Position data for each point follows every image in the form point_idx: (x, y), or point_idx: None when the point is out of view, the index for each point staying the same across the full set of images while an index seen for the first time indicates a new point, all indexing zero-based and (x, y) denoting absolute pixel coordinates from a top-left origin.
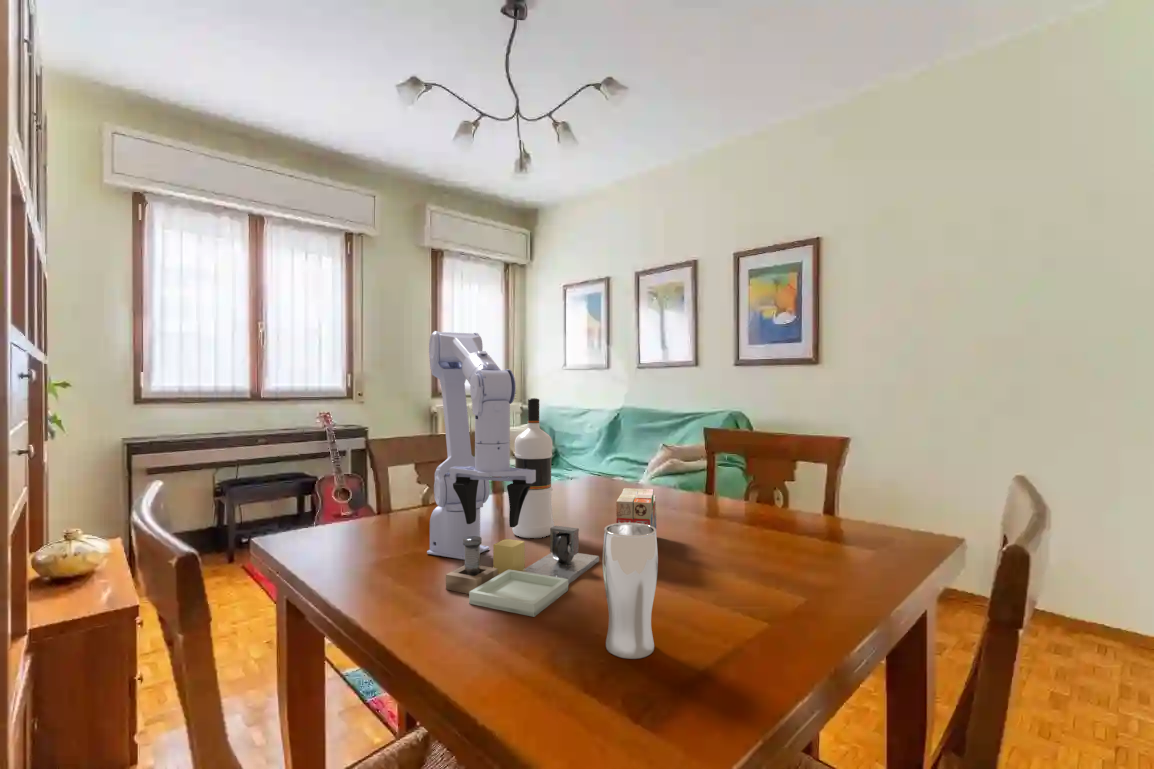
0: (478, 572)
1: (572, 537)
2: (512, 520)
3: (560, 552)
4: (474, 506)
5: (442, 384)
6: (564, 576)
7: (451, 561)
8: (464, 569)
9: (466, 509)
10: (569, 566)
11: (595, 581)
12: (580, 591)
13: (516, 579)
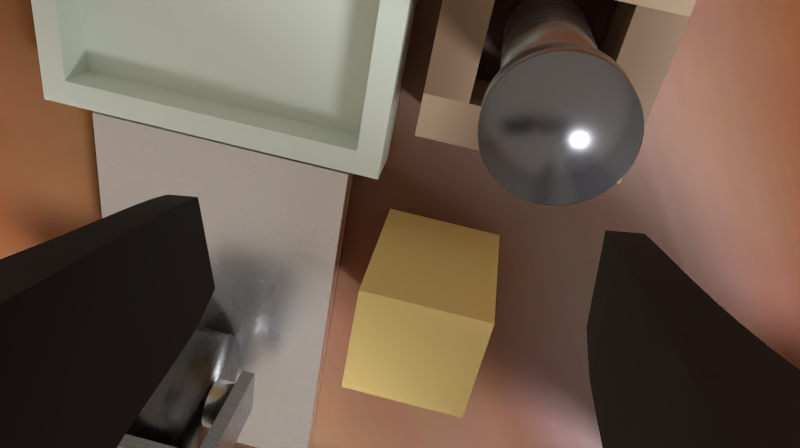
0: (502, 48)
1: None
2: (129, 213)
3: None
4: (613, 437)
5: None
6: (124, 181)
7: (770, 345)
8: None
9: (675, 305)
10: None
11: (37, 203)
12: (29, 83)
13: (329, 128)
